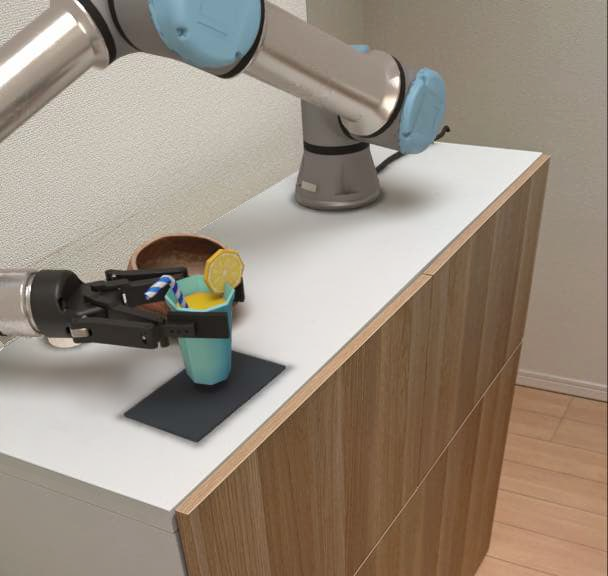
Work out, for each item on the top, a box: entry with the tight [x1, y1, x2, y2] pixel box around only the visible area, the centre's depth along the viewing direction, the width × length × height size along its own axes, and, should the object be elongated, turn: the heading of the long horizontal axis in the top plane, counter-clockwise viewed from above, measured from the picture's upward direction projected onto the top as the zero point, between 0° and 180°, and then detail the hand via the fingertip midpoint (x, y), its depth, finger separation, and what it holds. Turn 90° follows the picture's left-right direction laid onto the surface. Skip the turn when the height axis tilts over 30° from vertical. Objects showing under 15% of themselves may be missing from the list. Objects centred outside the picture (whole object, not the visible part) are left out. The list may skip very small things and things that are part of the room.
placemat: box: [123, 349, 287, 443], centre depth 94 cm, size 18×11×1 cm, turn 148°
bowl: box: [126, 232, 239, 320], centre depth 104 cm, size 16×16×10 cm
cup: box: [144, 249, 245, 385], centre depth 87 cm, size 14×8×15 cm, turn 145°
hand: (235, 306), depth 86 cm, fingers closed on cup, 8 cm apart
